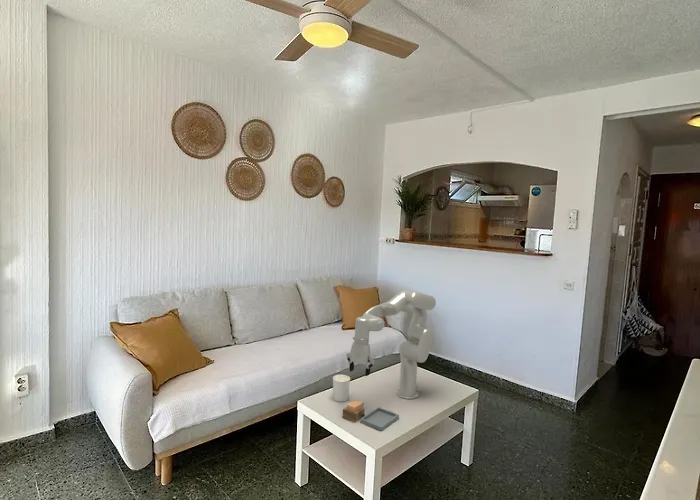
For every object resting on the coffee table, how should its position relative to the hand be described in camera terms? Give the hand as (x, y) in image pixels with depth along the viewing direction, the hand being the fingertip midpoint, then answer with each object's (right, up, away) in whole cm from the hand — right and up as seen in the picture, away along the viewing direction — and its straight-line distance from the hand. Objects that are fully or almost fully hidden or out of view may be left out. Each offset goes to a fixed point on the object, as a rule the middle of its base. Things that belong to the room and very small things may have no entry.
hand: (359, 373), depth 205 cm
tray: (+10, -22, -8) cm, 25 cm away
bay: (-3, -21, -5) cm, 22 cm away
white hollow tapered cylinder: (-10, -19, +15) cm, 27 cm away
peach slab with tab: (-2, -21, -3) cm, 21 cm away
